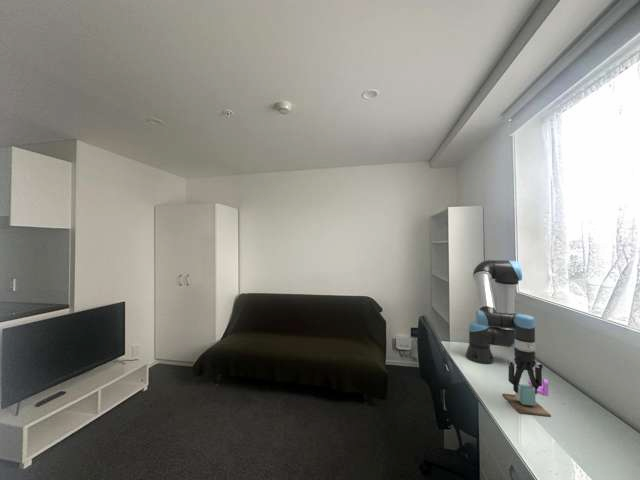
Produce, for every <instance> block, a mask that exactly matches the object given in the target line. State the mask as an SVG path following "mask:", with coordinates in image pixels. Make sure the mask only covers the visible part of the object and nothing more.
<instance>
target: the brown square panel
mask: <svg viewBox="0 0 640 480" xmlns="http://www.w3.org/2000/svg"><path fill="white" fill-rule="evenodd" d="M502 396H503V397H504V398H505V400H506V401H507V400H508V401H507V402H508V403H509V404H510V405H511V406H512V407H513V408H514V410H516V412H517V413H518V414H520V415H529V416H539V417H547V418H548V417H549V418H551V416H552V415H551V413H549V412H548V411H547V410H546V409H545V408H544V407H543V406H542V405H541V404H539V402H537V401H536V400H535V402H536V406H533V405H523V404H522V403H521V402H520V401H518V400H517V399H516V398H515V394H511V393H502Z"/></svg>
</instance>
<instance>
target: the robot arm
mask: <svg viewBox="0 0 640 480" xmlns="http://www.w3.org/2000/svg"><path fill="white" fill-rule="evenodd" d="M521 268H522V267H521V265H520V262H518V261H516V260H508V259H507V260H498V259H494V260H492V259H487V260H486V259H485V260H483V261H481V262H480V263H478V264H477V265H476V266H475V268H474V269H473V273H472V277H473V281H475V285H476V293H477V301H478V302H477V303H478V310H476V311H475V321H472V322H470V323H469V325H468V345H467V349H466V352H465V357H466V359H468V360H470V361H473V362H474V363H478V364H484V365H488V364H489V365H490V364H493V363H494V355H493V353H492V349H491V346H492V345H493V346H499V347H504V348H509V349H510V348H512V349H514V359H513V360H507V364H508V378H507V379H508V380H507V381H508V382H509V383H510V384H511V385H512V386H513V388H512V389H513V391H514V393H515V394H514V395H515V398H516V399H517V400H518V401H521V391H520V388H521V387H520V386H519V384H520V382H521V379H522V374H523V373H524V371H527V374H528V377H529V378H528V379H529V380H530V381H531V384H532V385H530V384H528V385H529V386H530V387H531V388H533V389H534V390H535V395H537V394H538V393H537V389H538V388H539V386H540V387H541V386H542V383H543V379H542V377H543V376H542V371H543V370H542V369H543V368H544V365H542V364H541V363H539V362H536V321H535V317H533V316H532V315H530V314H522V313H520V312H515V304H516V303H515V300H516V299H515V298H516V297H515V296H516V294H515V293H516V286H517V285H518V284H519V282H520V281H522V280H523V272H522V269H521ZM492 280H494V283H496V284H497V305H496V304H495V298H494V293H493V289H492V282H491V281H492ZM496 306H497V307H496ZM496 308H497V309H496ZM515 366H516V367H515Z"/></svg>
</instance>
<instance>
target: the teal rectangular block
mask: <svg viewBox="0 0 640 480" xmlns="http://www.w3.org/2000/svg"><path fill="white" fill-rule="evenodd" d="M529 385H530V384H524V383H519V386H520V387H521V388H520V391H521V401H520V402H521V403H522V404H523V405H533V406H536V402H537V401H536V394H535V390H534V389H533V388H531V387H530V386H529ZM535 401H536V402H535Z"/></svg>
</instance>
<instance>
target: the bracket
mask: <svg viewBox="0 0 640 480" xmlns="http://www.w3.org/2000/svg"><path fill="white" fill-rule="evenodd" d="M528 383H529V385H532V384H531V381H530V379H528ZM537 394H539V395H544V396H549V381H548V379H545V378H543V379H542V386H541V387H540V386H539V388H538V389H537Z"/></svg>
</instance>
